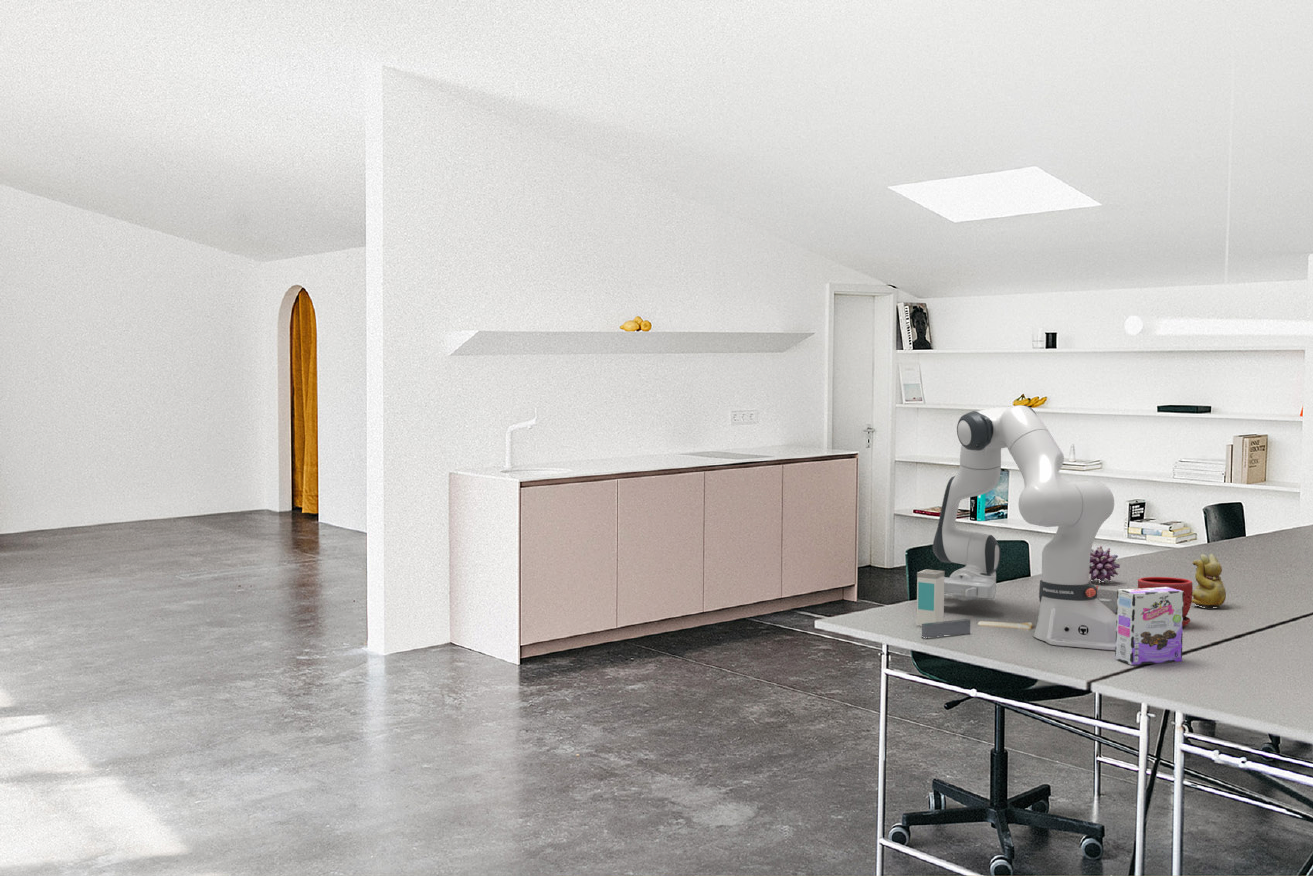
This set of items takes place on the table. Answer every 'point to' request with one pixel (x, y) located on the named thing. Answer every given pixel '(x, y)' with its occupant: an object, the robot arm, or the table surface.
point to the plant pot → (1175, 584)
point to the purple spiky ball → (1102, 564)
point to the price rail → (946, 628)
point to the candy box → (1149, 625)
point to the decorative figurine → (1208, 583)
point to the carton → (930, 596)
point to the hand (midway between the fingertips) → (947, 591)
